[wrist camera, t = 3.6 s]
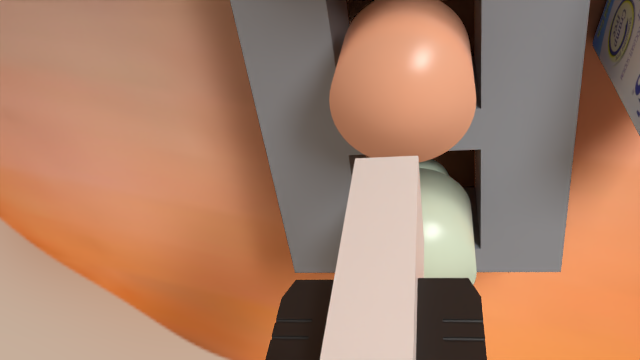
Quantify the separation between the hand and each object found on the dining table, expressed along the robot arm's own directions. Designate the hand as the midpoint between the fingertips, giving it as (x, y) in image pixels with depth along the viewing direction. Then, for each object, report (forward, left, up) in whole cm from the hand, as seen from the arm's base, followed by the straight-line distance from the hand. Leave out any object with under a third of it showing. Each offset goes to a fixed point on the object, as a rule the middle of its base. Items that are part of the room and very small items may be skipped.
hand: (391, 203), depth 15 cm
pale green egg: (+7, 0, -10) cm, 12 cm away
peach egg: (0, 0, -10) cm, 10 cm away
